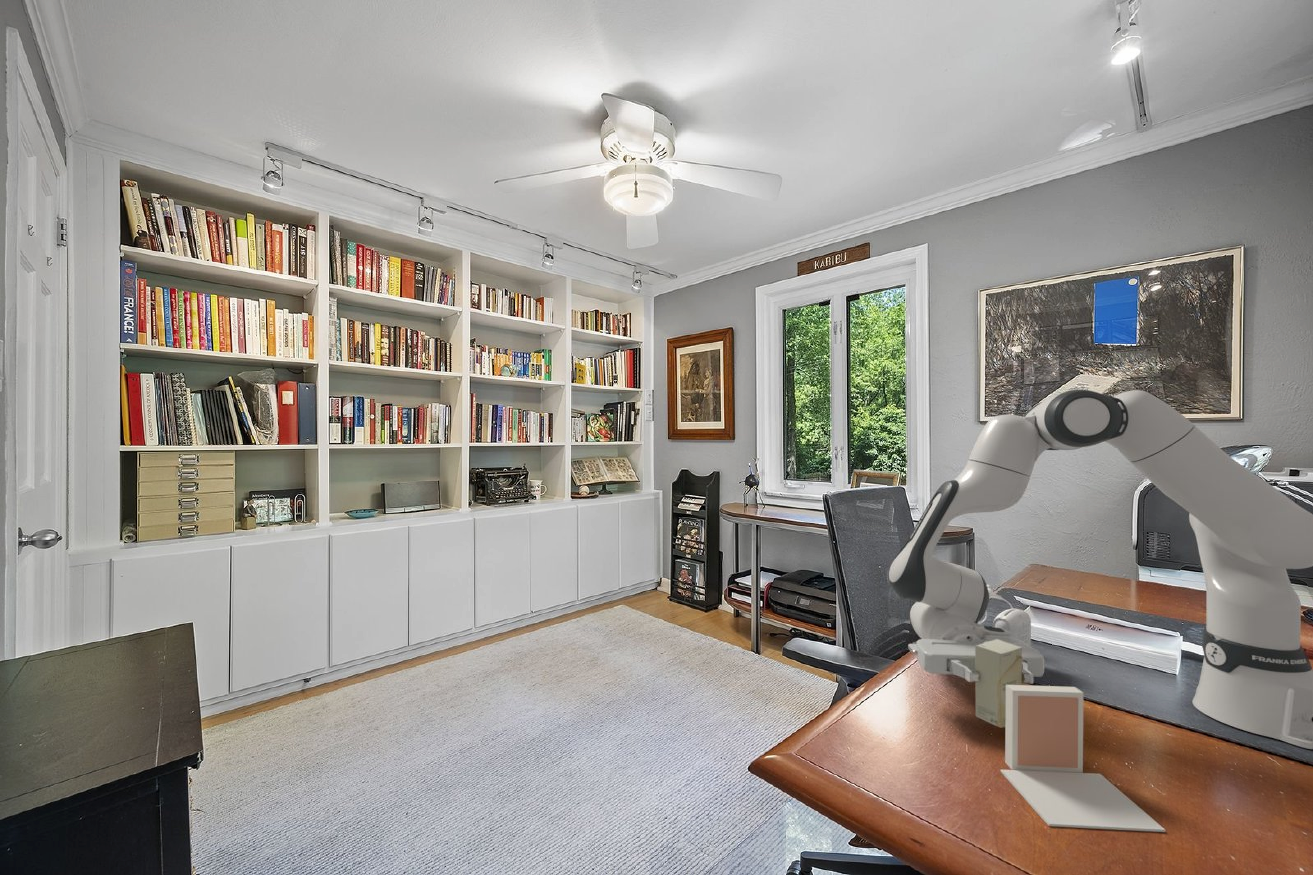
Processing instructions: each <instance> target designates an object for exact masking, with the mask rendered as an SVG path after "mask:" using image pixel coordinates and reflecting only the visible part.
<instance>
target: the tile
mask: <svg viewBox="0 0 1313 875" xmlns="http://www.w3.org/2000/svg"><path fill="white" fill-rule="evenodd" d="M1004 728H1005V733H1004V734H1005V736H1004V737H1005V739H1004V740H1005V741H1004V744H1005V746H1004V748H1005V749H1004V751H1005V754H1004V762H1005V764H1006V765H1007V766H1008V767H1009V768H1010V770H1024V771H1047V772H1069V773H1084V770H1083V769H1084V768H1083V767H1084V760H1083V759H1084V692H1083V691H1081V690H1080V689H1079V688H1078V687H1076V686H1061V685H1060V686H1058V685H1053V686H1052V685H1051V686H1050V685H1032V684H1028V685H1027V684H1022V685H1006V725H1005V727H1004Z"/></svg>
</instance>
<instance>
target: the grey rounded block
mask: <svg viewBox="0 0 1313 875" xmlns="http://www.w3.org/2000/svg"><path fill="white" fill-rule="evenodd" d="M992 627H995V628H1001V629H1006V630H1008V631H1010V632H1011V635H1012V637H1014V638H1017V639H1019V640H1021V641H1023V642H1025V643H1027V644H1028V645H1030V646H1031V644H1032V637H1031V636H1032V621H1031V616H1030V615H1029V614H1028V612H1027V611H1025V610H1023V609H1019V608H1014V607H1013V609H1011V608H1008V609H1006V610H1003V611H1001V612H1000V613H998V614H997V616H996V617H995V618H994V619H993V622H992ZM1031 647H1032V646H1031Z"/></svg>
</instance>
